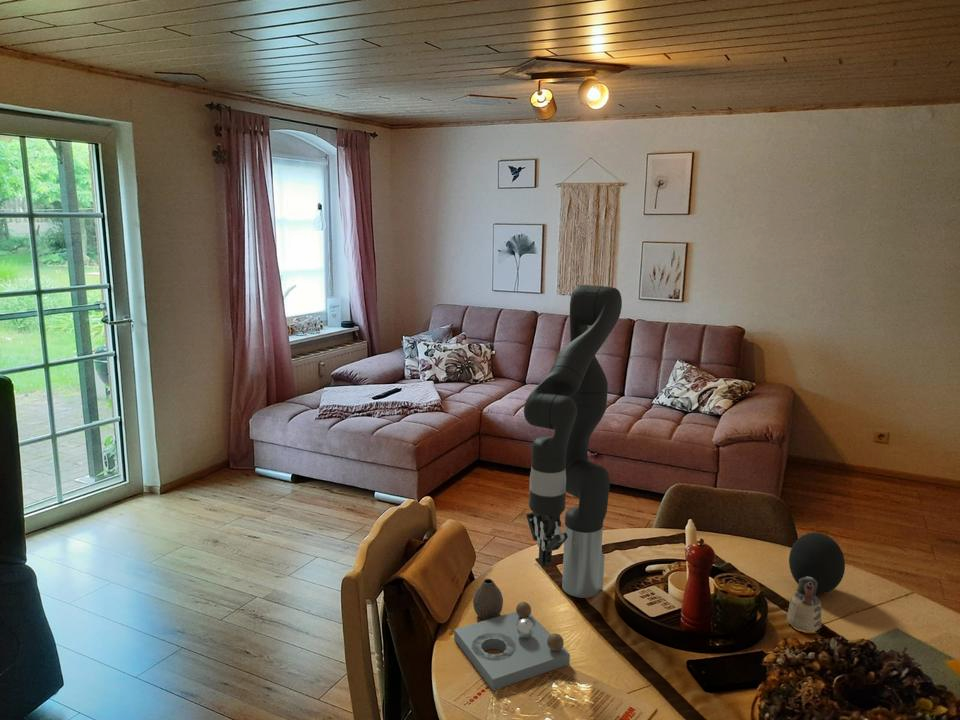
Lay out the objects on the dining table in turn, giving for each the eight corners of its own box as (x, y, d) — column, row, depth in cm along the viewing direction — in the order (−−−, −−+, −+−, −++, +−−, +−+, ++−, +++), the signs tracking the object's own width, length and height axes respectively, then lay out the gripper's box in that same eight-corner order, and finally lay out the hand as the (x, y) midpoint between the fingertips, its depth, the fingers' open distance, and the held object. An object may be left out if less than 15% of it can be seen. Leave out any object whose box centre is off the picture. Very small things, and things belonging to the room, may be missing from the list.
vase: (499, 626, 152) (500, 591, 151) (470, 622, 154) (470, 587, 152) (504, 608, 159) (505, 575, 157) (476, 605, 160) (476, 571, 158)
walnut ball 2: (557, 642, 143) (558, 628, 142) (566, 651, 140) (567, 637, 139) (543, 647, 141) (544, 632, 140) (552, 656, 138) (553, 641, 137)
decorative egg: (794, 601, 163) (801, 544, 160) (780, 575, 175) (786, 521, 172) (848, 606, 162) (856, 549, 158) (830, 579, 173) (838, 525, 170)
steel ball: (528, 629, 147) (528, 612, 146) (537, 639, 144) (538, 622, 143) (512, 634, 145) (512, 617, 145) (521, 644, 142) (521, 627, 141)
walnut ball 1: (526, 610, 154) (526, 597, 153) (533, 618, 151) (534, 605, 150) (513, 614, 152) (513, 601, 152) (520, 622, 149) (521, 608, 149)
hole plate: (525, 618, 155) (525, 608, 155) (569, 664, 140) (569, 653, 139) (454, 639, 147) (454, 629, 147) (492, 690, 132) (492, 679, 131)
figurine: (821, 621, 155) (827, 574, 153) (820, 638, 149) (826, 589, 147) (787, 613, 159) (793, 566, 156) (785, 628, 153) (790, 580, 150)
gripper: (581, 496, 135) (577, 574, 139) (546, 473, 147) (543, 546, 151) (549, 502, 132) (546, 583, 136) (516, 479, 144) (514, 553, 147)
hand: (544, 563), depth 143 cm, fingers closed
